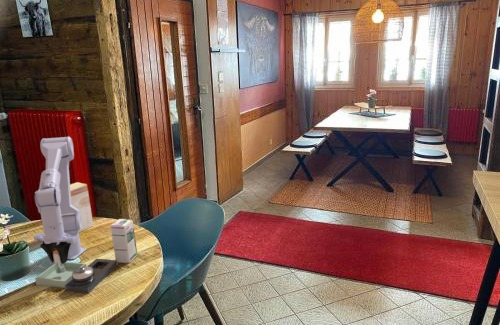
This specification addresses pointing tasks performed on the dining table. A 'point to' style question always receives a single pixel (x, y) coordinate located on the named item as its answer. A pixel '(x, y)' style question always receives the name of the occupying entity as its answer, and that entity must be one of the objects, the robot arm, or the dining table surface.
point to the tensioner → (90, 276)
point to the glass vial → (58, 262)
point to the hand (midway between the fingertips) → (59, 261)
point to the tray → (58, 275)
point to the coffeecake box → (81, 204)
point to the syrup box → (124, 240)
